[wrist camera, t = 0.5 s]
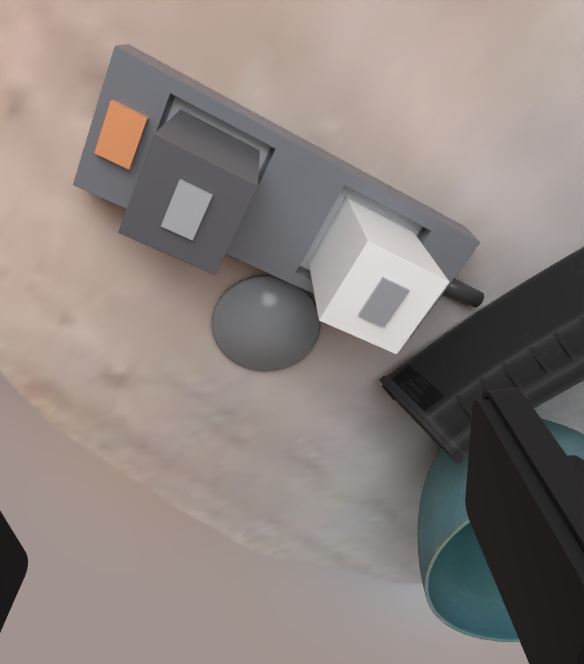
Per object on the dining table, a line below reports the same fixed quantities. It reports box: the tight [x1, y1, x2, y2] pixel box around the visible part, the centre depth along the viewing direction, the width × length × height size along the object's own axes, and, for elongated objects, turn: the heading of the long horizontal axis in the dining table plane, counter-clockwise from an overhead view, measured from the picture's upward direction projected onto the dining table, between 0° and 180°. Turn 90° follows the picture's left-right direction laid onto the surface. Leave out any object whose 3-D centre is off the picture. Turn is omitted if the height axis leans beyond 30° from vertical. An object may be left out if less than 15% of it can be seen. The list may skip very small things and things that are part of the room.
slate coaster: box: [212, 275, 319, 371], centre depth 38 cm, size 8×8×1 cm
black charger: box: [118, 109, 260, 275], centre depth 27 cm, size 5×5×8 cm
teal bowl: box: [418, 419, 584, 642], centre depth 41 cm, size 18×18×12 cm
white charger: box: [309, 196, 449, 354], centre depth 30 cm, size 5×5×8 cm
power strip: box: [73, 44, 484, 338], centre depth 33 cm, size 28×8×4 cm, turn 63°
